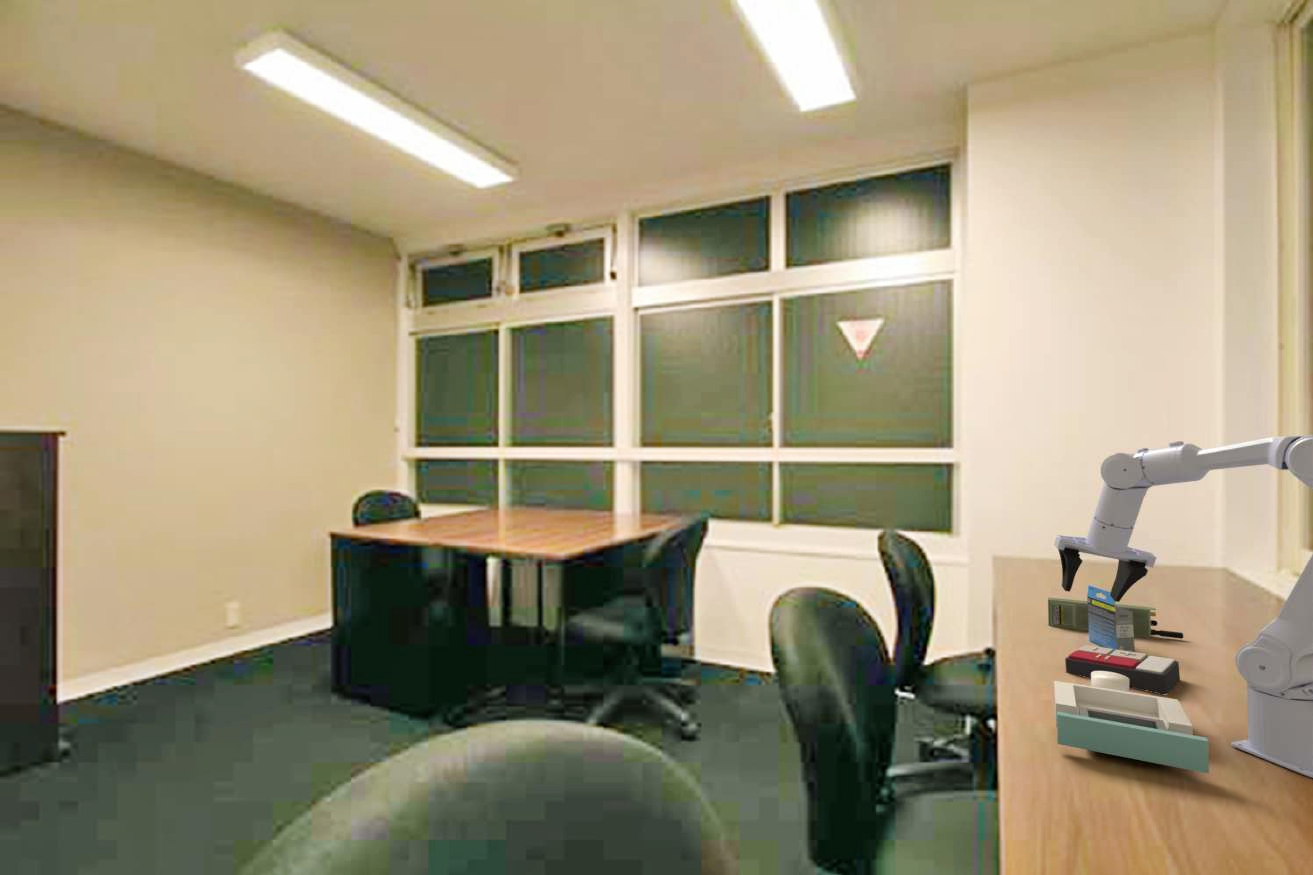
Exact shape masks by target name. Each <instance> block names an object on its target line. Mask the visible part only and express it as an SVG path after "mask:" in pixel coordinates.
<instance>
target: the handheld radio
mask: <svg viewBox="0 0 1313 875" xmlns="http://www.w3.org/2000/svg"><path fill="white" fill-rule="evenodd" d="M1115 605H1116V606H1118V607H1120V608H1123V609H1125V610H1128V611H1131V612H1132V613H1133V631H1134V637H1137V638H1138V637H1140V638H1147V639H1148V638H1152V636H1155V637H1156V636H1160V637H1165V638H1172V639H1180V640H1181V639H1182V640H1183V639H1184V633H1183V632H1180V631H1171V630H1161V629H1159V630H1156V629H1152V626H1153V627H1156V626H1158V621H1157V620H1154V619H1151V618H1152V617H1156V616H1157V613H1156V610H1157V609H1156V607H1152V606H1143V605H1141V606H1140V605H1129V604H1123V603H1121V604H1120V603H1115ZM1152 611H1153V612H1152ZM1154 611H1155V612H1154ZM1047 615H1048V619H1047V620H1048V624H1047V625H1048V626H1049V627H1055V628H1062V629H1063V628H1064V629H1071V630H1072V629H1073V630H1080V631H1088V632H1089V623H1088V601H1087V600H1078V599H1070V598H1069V599H1068V598H1058V597H1047Z"/></svg>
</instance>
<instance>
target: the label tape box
mask: <svg viewBox="0 0 1313 875" xmlns="http://www.w3.org/2000/svg"><path fill="white" fill-rule="evenodd" d="M1097 594H1098V595H1099V594H1101V595H1102V596H1104V597H1101V596H1098V595H1097ZM1110 594H1111V591H1108V590H1105V589H1102V588H1100V587H1097V586H1094V585H1092V584H1088V586H1087V593H1086V599H1087V600H1086V601H1088V623H1089V631H1088V640H1089V642H1091V643H1093V644H1096V645H1098V646H1099V647H1104V648H1110V649H1113V651H1115V650H1123V651H1130V652H1136V650H1135V636H1134V631H1133V613H1132V612H1131V611H1128V610H1125V609H1123V608H1120V607H1118V606H1116V605H1115V604H1116V601H1114V600H1113V598H1112V597H1111V596H1110Z"/></svg>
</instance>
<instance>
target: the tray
mask: <svg viewBox="0 0 1313 875" xmlns="http://www.w3.org/2000/svg"><path fill="white" fill-rule="evenodd" d="M1056 731H1057V732H1056V734H1057V736H1056V737H1057V738H1056V739H1057V745H1061V746H1067V747H1071V748H1075V749H1076V748H1077V749H1082V750H1087V751H1091V752H1097V753H1102V754H1107V755H1112V756H1116V757H1117V756H1118V757H1122V758H1128V759H1133V760H1139V761H1142V762H1147V763H1151V764H1152V763H1153V764H1158V765H1163V766H1167V767H1173V768H1177V769H1184V770H1189V771H1194V772H1198V773H1203V774H1210V764H1209V762H1210V761H1209V760H1210V758H1209V754H1210V753H1209V740H1208V738H1207V737H1206V736H1205V737H1204V736H1199V735H1188V734H1183V733H1177V732H1171V731H1168V730H1167V728H1166V726H1165V723H1164V721H1163V720H1158V719H1152V718H1146V717H1140V716H1134V715H1128V714H1122V713H1116V712H1110V711H1104V710H1098V709H1092V708H1087V707H1081V706H1079V715H1074V714H1068V713H1062V712H1057V727H1056Z"/></svg>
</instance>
